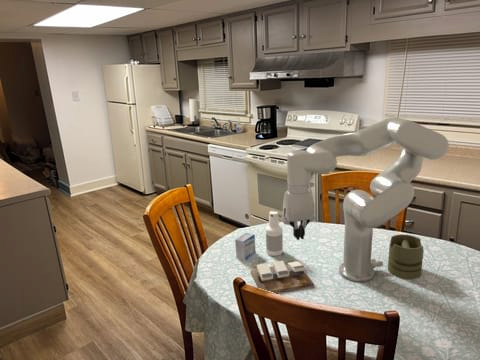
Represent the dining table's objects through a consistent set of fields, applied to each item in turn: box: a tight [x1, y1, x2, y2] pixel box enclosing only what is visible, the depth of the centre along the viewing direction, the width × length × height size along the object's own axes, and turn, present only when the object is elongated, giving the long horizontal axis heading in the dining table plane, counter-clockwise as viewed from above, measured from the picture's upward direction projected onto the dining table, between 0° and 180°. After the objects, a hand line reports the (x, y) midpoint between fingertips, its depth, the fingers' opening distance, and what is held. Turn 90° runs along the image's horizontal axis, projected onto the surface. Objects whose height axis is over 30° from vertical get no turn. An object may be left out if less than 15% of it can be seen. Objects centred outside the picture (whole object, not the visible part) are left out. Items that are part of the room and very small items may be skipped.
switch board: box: [250, 263, 315, 294], centre depth 133 cm, size 19×15×3 cm
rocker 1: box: [256, 262, 273, 281], centre depth 132 cm, size 4×7×1 cm, turn 13°
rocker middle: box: [271, 260, 289, 278], centre depth 133 cm, size 4×7×1 cm, turn 13°
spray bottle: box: [265, 210, 284, 257], centre depth 151 cm, size 7×7×18 cm
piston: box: [387, 234, 425, 280], centre depth 133 cm, size 11×12×11 cm
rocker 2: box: [287, 261, 306, 272], centre depth 134 cm, size 4×7×1 cm, turn 13°
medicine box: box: [234, 232, 257, 262], centre depth 151 cm, size 8×4×9 cm, turn 143°
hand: (299, 237), depth 127 cm, fingers closed
